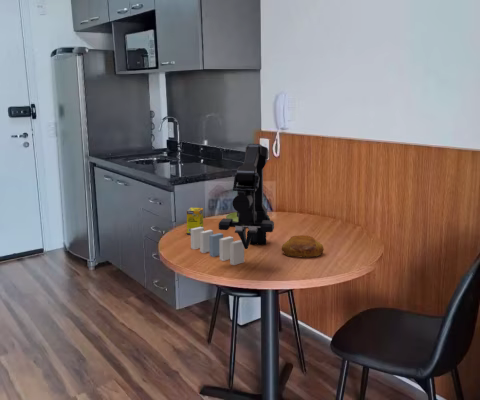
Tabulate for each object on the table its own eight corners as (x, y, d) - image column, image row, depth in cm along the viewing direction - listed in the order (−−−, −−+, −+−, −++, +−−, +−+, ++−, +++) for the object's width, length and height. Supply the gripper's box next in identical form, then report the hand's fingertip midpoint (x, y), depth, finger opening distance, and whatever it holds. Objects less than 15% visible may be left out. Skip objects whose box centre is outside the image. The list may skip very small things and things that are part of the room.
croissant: (321, 265, 178) (324, 245, 176) (279, 257, 181) (282, 237, 179) (322, 252, 192) (325, 233, 190) (283, 245, 195) (286, 226, 193)
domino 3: (223, 254, 185) (223, 234, 183) (212, 257, 181) (212, 236, 180) (220, 252, 186) (219, 232, 184) (209, 255, 183) (209, 235, 181)
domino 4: (233, 258, 180) (233, 237, 178) (223, 261, 177) (222, 240, 175) (230, 256, 182) (229, 236, 180) (219, 259, 178) (219, 238, 177)
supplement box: (200, 235, 209) (199, 211, 207) (186, 234, 210) (186, 210, 208) (203, 231, 215) (203, 207, 212) (190, 231, 216) (190, 207, 213)
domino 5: (244, 262, 176) (244, 241, 174) (233, 265, 173) (233, 243, 171) (240, 260, 177) (240, 239, 176) (230, 263, 174) (229, 242, 172)
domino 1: (204, 247, 193) (203, 227, 192) (194, 249, 190) (193, 229, 188) (201, 245, 195) (200, 226, 193) (191, 248, 192) (190, 228, 190)
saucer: (219, 226, 224) (219, 219, 223) (234, 216, 243) (234, 210, 242) (263, 230, 218) (263, 223, 217) (274, 219, 237) (274, 213, 236)
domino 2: (213, 250, 189) (213, 230, 187) (203, 253, 186) (202, 233, 184) (210, 249, 190) (210, 229, 189) (200, 252, 187) (199, 232, 186)
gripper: (276, 201, 173) (275, 243, 176) (224, 199, 176) (225, 240, 179) (272, 208, 162) (271, 253, 165) (217, 206, 165) (218, 250, 169)
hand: (246, 248), depth 170 cm, fingers closed
